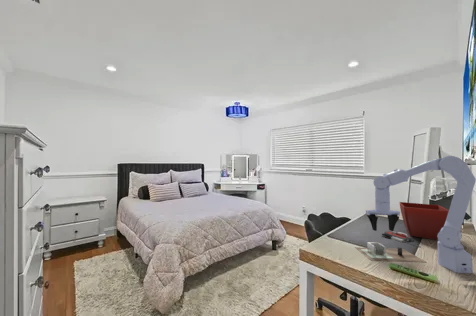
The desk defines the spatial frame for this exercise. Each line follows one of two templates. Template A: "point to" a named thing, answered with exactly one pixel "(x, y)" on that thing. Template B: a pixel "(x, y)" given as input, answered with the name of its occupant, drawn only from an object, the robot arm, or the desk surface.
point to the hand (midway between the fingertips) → (382, 230)
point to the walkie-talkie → (399, 237)
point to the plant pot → (423, 219)
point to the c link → (376, 248)
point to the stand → (392, 255)
